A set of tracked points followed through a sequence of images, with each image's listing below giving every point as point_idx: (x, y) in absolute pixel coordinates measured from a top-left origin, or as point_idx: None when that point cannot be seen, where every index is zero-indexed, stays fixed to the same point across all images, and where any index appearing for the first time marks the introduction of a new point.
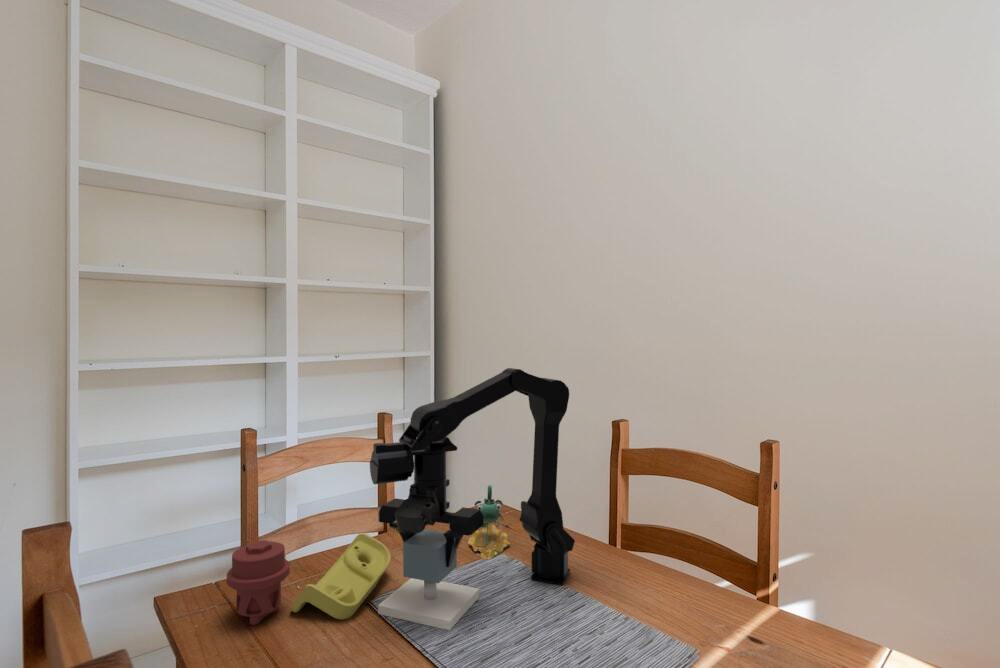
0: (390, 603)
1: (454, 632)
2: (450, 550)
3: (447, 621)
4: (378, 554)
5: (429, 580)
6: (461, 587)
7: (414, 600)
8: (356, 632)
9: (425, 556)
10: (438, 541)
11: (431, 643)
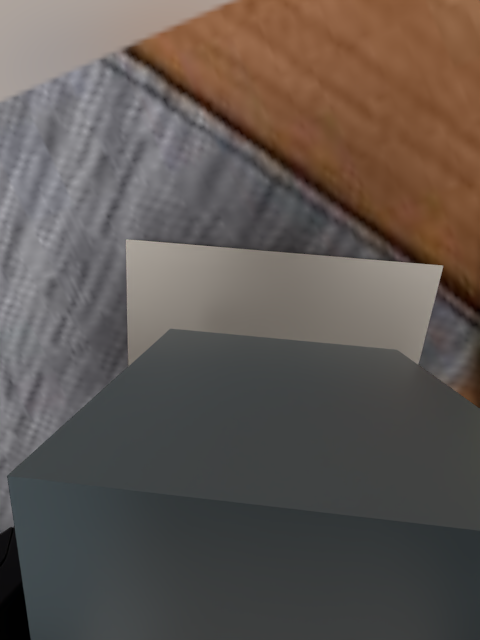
0: (397, 291)
1: (120, 235)
2: (13, 536)
3: (135, 240)
4: None
5: (225, 334)
6: None
7: (313, 338)
8: (456, 120)
9: (245, 411)
10: None
11: (160, 146)
